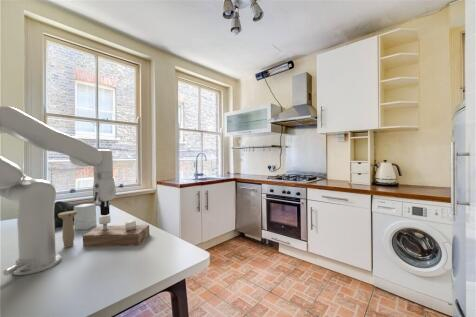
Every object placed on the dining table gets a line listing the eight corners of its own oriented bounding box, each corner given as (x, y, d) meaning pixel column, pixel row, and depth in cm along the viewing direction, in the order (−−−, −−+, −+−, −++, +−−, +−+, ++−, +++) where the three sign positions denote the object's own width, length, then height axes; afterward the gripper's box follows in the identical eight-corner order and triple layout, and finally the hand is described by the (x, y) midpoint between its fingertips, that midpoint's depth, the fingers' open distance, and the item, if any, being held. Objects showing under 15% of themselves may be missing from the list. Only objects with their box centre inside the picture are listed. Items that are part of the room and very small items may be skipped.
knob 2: (133, 239, 93) (133, 223, 93) (123, 239, 93) (123, 223, 93) (138, 235, 98) (137, 220, 97) (128, 235, 98) (128, 220, 97)
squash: (79, 209, 132) (58, 195, 124) (86, 214, 122) (64, 199, 114) (58, 228, 124) (34, 214, 116) (63, 235, 115) (38, 220, 106)
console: (137, 245, 89) (137, 234, 89) (83, 246, 89) (82, 235, 89) (149, 234, 101) (149, 224, 101) (101, 235, 101) (100, 225, 101)
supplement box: (97, 225, 117) (96, 203, 117) (86, 229, 110) (85, 206, 110) (85, 224, 118) (84, 203, 118) (73, 229, 111) (73, 206, 110)
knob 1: (107, 233, 93) (106, 217, 93) (97, 234, 93) (96, 217, 93) (112, 230, 97) (112, 214, 97) (103, 230, 97) (103, 215, 97)
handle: (57, 247, 89) (56, 213, 88) (75, 242, 94) (74, 210, 94) (61, 250, 86) (60, 215, 86) (79, 244, 91) (78, 211, 91)
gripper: (101, 177, 87) (102, 219, 88) (120, 174, 102) (122, 210, 103) (83, 178, 87) (85, 220, 88) (105, 174, 102) (107, 210, 103)
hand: (105, 214), depth 95 cm, fingers closed
